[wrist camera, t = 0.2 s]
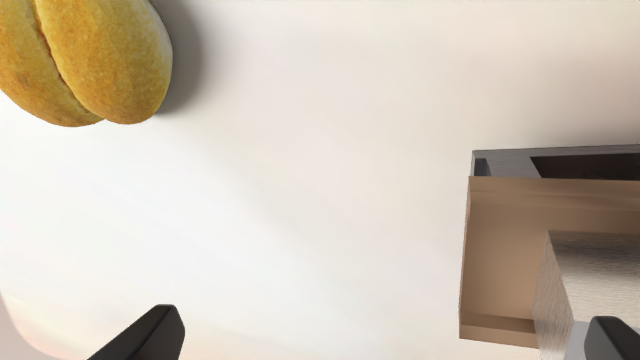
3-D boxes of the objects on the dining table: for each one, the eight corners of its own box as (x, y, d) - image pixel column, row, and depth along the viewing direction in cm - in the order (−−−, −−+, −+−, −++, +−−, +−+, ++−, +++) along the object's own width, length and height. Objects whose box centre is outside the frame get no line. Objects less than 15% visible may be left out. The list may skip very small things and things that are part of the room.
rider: (531, 308, 19) (549, 403, 15) (547, 230, 17) (574, 320, 13) (688, 325, 17) (751, 436, 14) (731, 241, 15) (821, 348, 11)
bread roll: (197, 111, 23) (164, 145, 19) (52, 116, 24) (-3, 149, 21) (150, -65, 18) (97, -60, 15) (-23, -45, 20) (-107, -37, 16)
